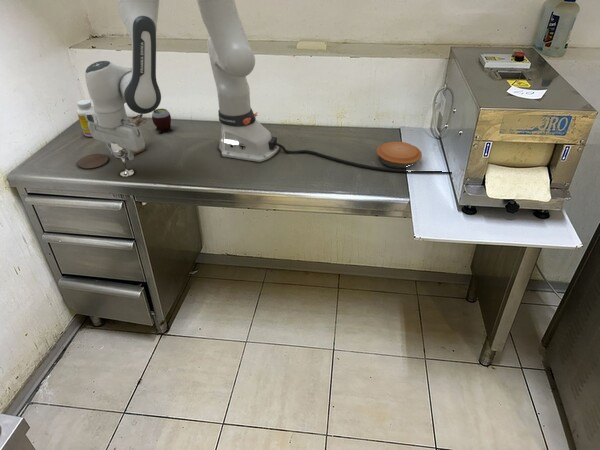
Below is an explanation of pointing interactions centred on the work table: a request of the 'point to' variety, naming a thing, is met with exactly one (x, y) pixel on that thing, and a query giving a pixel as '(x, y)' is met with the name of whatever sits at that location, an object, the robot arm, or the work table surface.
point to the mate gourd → (162, 120)
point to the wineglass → (121, 157)
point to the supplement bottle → (84, 109)
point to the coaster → (93, 161)
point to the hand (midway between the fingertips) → (122, 156)
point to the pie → (398, 154)
